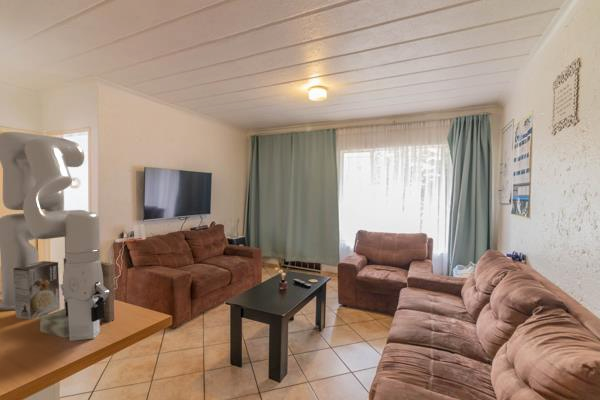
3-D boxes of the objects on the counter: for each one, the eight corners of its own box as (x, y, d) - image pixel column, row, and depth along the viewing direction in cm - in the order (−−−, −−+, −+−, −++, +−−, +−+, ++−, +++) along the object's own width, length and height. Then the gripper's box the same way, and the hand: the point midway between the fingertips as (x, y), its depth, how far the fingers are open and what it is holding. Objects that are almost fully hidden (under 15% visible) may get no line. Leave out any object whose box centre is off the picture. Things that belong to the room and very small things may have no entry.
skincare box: (100, 331, 84) (99, 290, 83) (93, 339, 79) (93, 296, 79) (75, 333, 82) (75, 292, 82) (67, 342, 78) (66, 298, 77)
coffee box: (45, 305, 100) (44, 260, 99) (60, 308, 98) (59, 261, 97) (14, 317, 91) (12, 267, 90) (30, 320, 89) (29, 269, 88)
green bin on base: (24, 327, 85) (22, 267, 84) (69, 309, 97) (68, 257, 96) (72, 339, 79) (71, 275, 78) (114, 319, 91) (113, 263, 90)
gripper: (46, 257, 79) (48, 318, 80) (92, 262, 74) (94, 328, 75) (75, 251, 86) (76, 307, 87) (119, 256, 81) (120, 315, 82)
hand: (84, 316), depth 81 cm, fingers open, 9 cm apart
